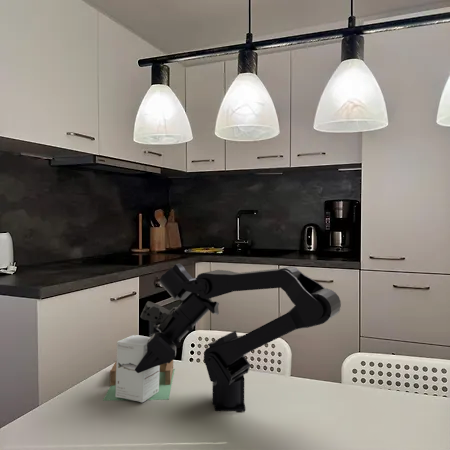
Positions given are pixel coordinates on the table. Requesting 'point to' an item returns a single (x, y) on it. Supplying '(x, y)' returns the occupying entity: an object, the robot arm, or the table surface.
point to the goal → (163, 368)
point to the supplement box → (125, 370)
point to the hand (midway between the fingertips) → (139, 363)
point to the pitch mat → (161, 395)
